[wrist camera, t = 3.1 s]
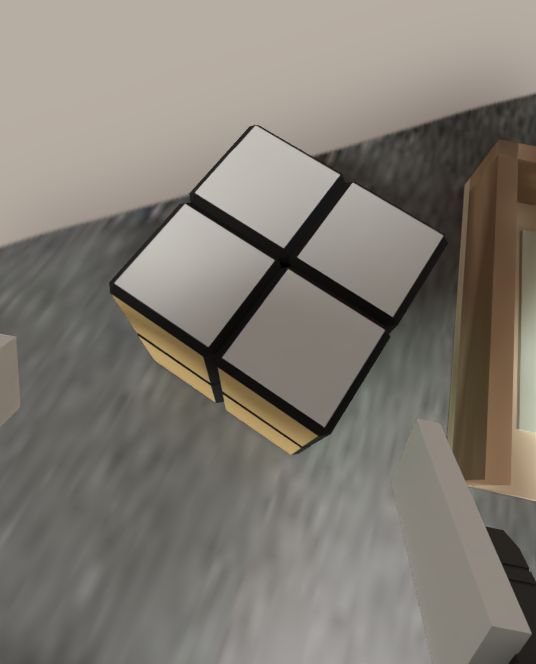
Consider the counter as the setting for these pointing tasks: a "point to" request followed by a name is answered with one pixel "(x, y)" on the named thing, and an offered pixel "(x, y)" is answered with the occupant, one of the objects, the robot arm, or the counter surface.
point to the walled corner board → (497, 326)
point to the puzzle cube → (276, 287)
